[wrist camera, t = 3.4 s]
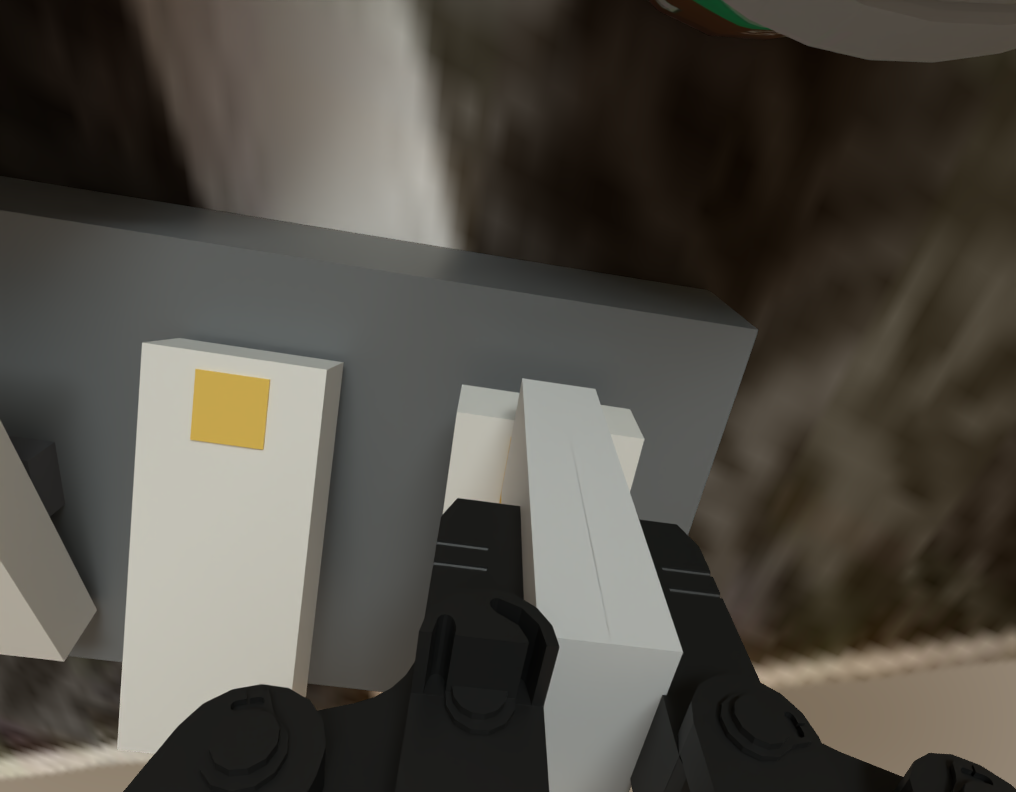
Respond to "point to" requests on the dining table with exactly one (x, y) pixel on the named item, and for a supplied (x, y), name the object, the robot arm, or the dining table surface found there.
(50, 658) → the block
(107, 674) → the dining table surface
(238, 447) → the rocker
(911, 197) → the dining table surface
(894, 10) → the food container
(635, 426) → the block
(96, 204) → the switch unit
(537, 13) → the dining table surface
